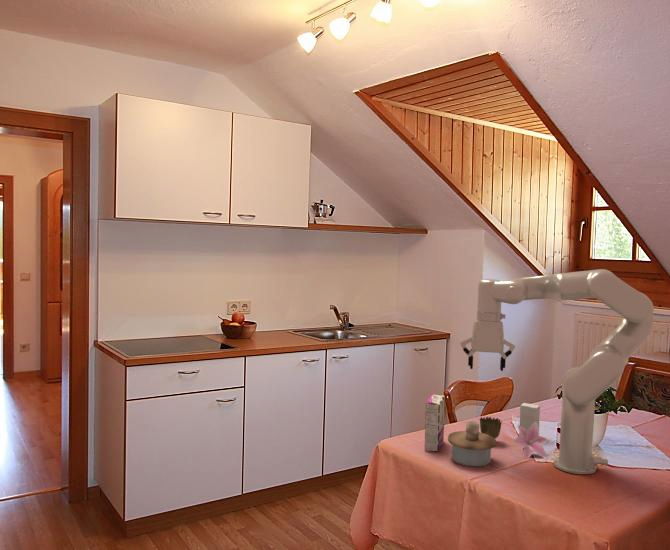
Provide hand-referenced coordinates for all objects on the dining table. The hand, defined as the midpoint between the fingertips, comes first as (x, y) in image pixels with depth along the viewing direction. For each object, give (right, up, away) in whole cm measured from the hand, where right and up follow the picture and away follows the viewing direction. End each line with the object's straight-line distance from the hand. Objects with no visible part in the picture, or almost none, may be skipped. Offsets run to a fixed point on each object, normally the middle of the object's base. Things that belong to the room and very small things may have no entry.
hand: (486, 369), depth 204 cm
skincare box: (+20, -28, +19) cm, 39 cm away
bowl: (-6, -29, -4) cm, 29 cm away
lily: (+15, -29, +2) cm, 33 cm away
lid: (-6, -23, -5) cm, 24 cm away
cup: (+4, -28, +13) cm, 31 cm away
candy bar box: (-16, -28, +8) cm, 33 cm away
